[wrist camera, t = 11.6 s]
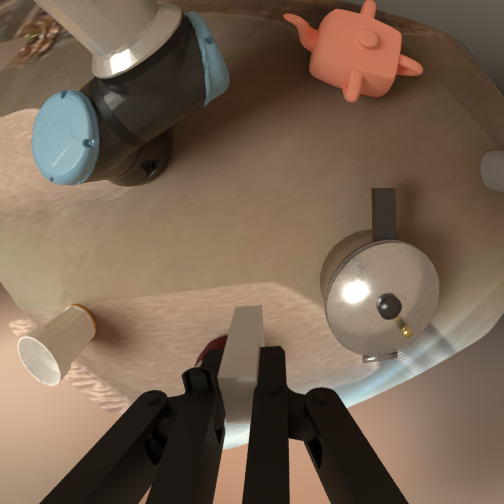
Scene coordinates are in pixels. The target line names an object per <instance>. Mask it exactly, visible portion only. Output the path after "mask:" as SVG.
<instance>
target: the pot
mask: <svg viewBox="0 0 504 504" xmlns="http://www.w3.org/2000/svg"><path fill="white" fill-rule="evenodd" d="M371 189H372V230H367V231H361V232H357V233H354V234H352V235H349V236H348V237H346V238H344V239H343V240H341V241H340V242H339V243H338V244H337V245H336V246H335V247H334V248H333V249H332V250H331V251H330V253H329V254H328V256H327V257H326V259H325V262H324V264H323V267H322V270H321V275H320V289H321V293H322V296H323V299H324V302H325V303H324V306H325V314H326V319H327V313H326V302H327V296H328V291H329V289H330V286H331V283H332V281H333V279H334V277H335V276H336V274H337V272H338V271H339V270H340V268H341V267H342V266H343V265H344V263H345V262H347V261H348V260H349V259H350V258H351V257H352V256H353V255H355V254H356V253H357V252H359V251H361V250H362V249H364V248H366V247H368V246H371V245H373V244H377V243H381V242H388V241H396V242H402V243H406V244H409V243H407V242H404V241H401V240H397V239H396V195H395V189H394V188H371ZM409 245H411V244H409ZM411 246H413V245H411ZM413 247H415V246H413ZM415 248H416V247H415ZM417 249H418V248H417ZM418 250H419V249H418ZM420 251H421V250H420ZM421 252H422V251H421ZM327 322H328V319H327ZM328 324H329V323H328ZM329 327H330V326H329ZM330 329H331V328H330ZM363 356H366V355H363Z"/></svg>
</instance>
